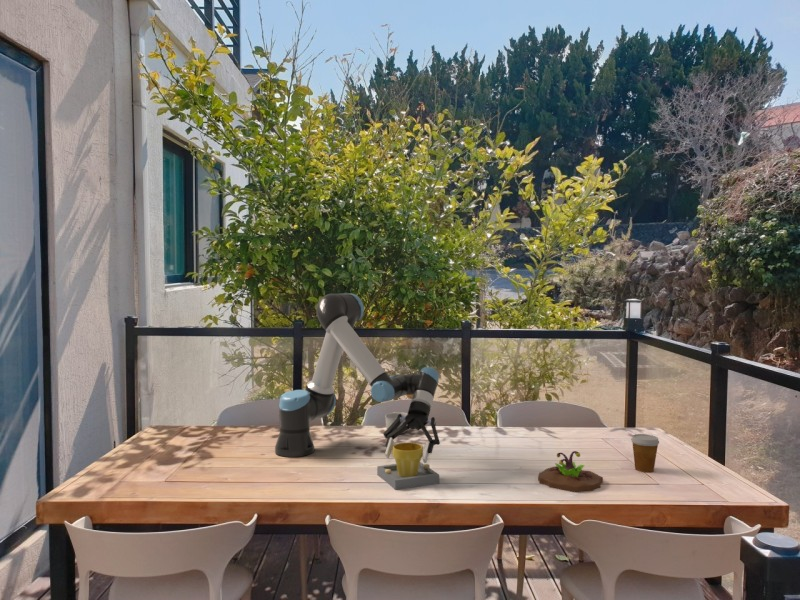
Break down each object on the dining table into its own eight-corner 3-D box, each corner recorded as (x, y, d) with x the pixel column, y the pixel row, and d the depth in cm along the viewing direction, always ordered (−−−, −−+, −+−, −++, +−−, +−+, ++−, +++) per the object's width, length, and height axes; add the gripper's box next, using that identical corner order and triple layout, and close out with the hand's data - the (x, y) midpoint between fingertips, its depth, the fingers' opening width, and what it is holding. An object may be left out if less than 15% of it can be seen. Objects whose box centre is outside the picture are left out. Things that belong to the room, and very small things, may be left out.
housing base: (394, 489, 198) (394, 477, 198) (376, 474, 213) (376, 463, 213) (439, 483, 205) (439, 471, 205) (419, 469, 220) (419, 458, 220)
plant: (583, 497, 194) (584, 463, 194) (529, 483, 207) (530, 450, 207) (610, 482, 209) (611, 450, 208) (559, 469, 222) (559, 439, 222)
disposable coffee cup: (657, 467, 225) (658, 435, 224) (659, 475, 216) (660, 441, 215) (629, 464, 228) (630, 432, 227) (630, 472, 219) (631, 439, 218)
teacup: (409, 435, 266) (409, 417, 265) (384, 435, 266) (384, 417, 266) (409, 427, 280) (409, 410, 279) (385, 427, 280) (385, 410, 280)
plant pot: (388, 477, 206) (388, 448, 206) (398, 468, 216) (398, 440, 215) (417, 481, 203) (417, 451, 202) (426, 471, 212) (426, 443, 212)
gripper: (455, 414, 218) (442, 468, 205) (391, 408, 227) (374, 459, 214) (451, 402, 213) (438, 457, 200) (385, 397, 222) (368, 448, 209)
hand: (405, 458), depth 207 cm, fingers open, 13 cm apart
